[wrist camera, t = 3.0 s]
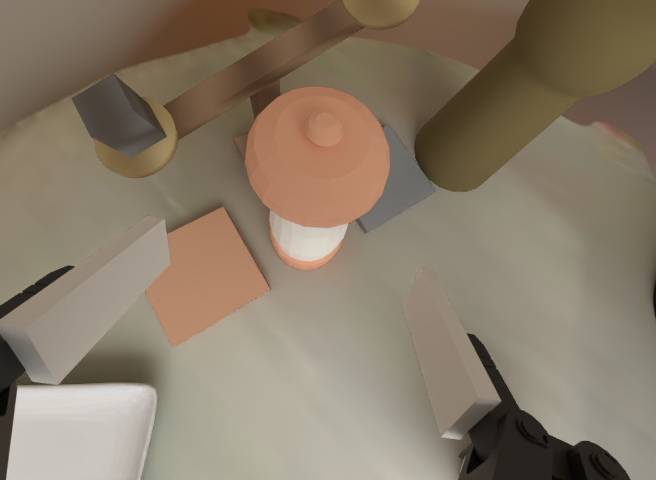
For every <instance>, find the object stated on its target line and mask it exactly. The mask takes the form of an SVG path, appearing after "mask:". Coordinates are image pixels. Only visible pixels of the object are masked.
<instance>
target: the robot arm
mask: <svg viewBox="0 0 656 480" xmlns="http://www.w3.org/2000/svg"><path fill="white" fill-rule="evenodd" d="M169 264H170V255H169V247H168V240H167V232H166V225H165V218H159V217H154V216H149V215H148V216H147V217H145V218H144V219H143V220H141V221H140V222H138V223H137V224H135V225H134V226H133V227H131V228H130V229H128V230H127V231H125V232H124V233H123V234H121V235H120V236H118V237H117V238H115V239H114V240H113V241H111V242H110V243H108V244H107V245H106V246H104V247H103V248H101V249H100V250H98V251H97V252H96V253H94V254H93V255H91V256H90V257H88V258H87V259H86V260H84V261H83V262H81V263H80V264H78V265H77V266H76V267H74V266H69V265H68V266H66V267H63V268H61V269H58V270H56V271H53V272H51V273H49V274H48V275H46V276H45V277H43V278H42V279H40V280H39V281H37V282H36V283H35V285H31V286H29V287H28V288H26V289H25V290H23V292H22V293H19V294H17V295H16V296H14V297H13V298H11V299H10V300H8V301H7V302H5V303H4V304H2V305H1V306H0V480H6V476H7V468H8V460H9V452H10V444H11V436H12V428H13V420H14V412H15V404H16V396H17V384H16V381H15V380H16V379H17V378H18V377H19V376H20V375H21V374H23V373H24V372H26V373H27V374H28V376H29V377H30V379H31V380H32V382H39V383H46V384H53V385H58V384H59V383H60V382H61V381H62V380H63V379H64V378H65V377H66V376H67V375H68V374H69V373H70V371H71V370H72V369H73V368H74V367H75V366H76V365H77V364H78V363H79V362H80V361H81V360H82V358H83V357H84V356H85V355H86V354H87V353H88V352H89V351H90V350H91V349H92V348H93V347H94V345H95V344H96V343H97V342H98V341H99V340H100V339H101V338H102V337H103V336H104V335H105V334H106V332H107V331H108V330H109V329H110V328H111V327H112V326H113V325H114V324H115V323H116V322H117V321H118V319H119V318H120V317H121V316H122V315H123V314H124V313H125V312H126V311H127V310H128V309H129V308H130V306H131V305H132V304H133V303H134V302H135V301H136V300H137V299H138V298H139V297H140V296H141V295H142V293H143V292H144V291H145V290H146V289H147V288H148V287H149V286H150V285H151V284H152V283H153V282H154V281H155V279H156V278H157V277H158V276H159V275H160V274H161V273H162V272H163V271H164V270H165V269H166V268H167V266H168V265H169ZM655 303H656V293H655ZM402 307H403V311H404V314H405V318H406V321H407V324H408V328H409V331H410V335H411V338H412V341H413V345H414V348H415V352H416V355H417V358H418V362H419V365H420V369H421V372H422V375H423V379H424V382H425V386H426V389H427V392H428V396H429V399H430V403H431V406H432V409H433V413H434V416H435V420H436V423H437V426H438V430H439V433H440V437H443V438H451V439H458V440H461V439H462V438H463V437H464V436H465V435H466V434H467V433H468V432H469V435H470V437H471V440H472V444H470V445H469V446H468V447H467V448H466V449H465V450H464V451H463V452H461V454H460V455H459V458H460V459H462V458H464V457H465V456H466V457H465V460H464V463H463V466H462V469H461V472H460V476H459V479H458V480H630V478H629V476H628V475H627V473H626V471H625V470H624V469H623V467H622V466H621V465H620V464H619V463H618V461H617V460H616V459H615V458H614V457H612V456H611V455H610V454H609V453H608V452H607V451H606V450H604V449H603V448H601V447H600V446H598V445H597V444H595V443H592V442H590V441H581V442H579V443H578V444H576V445H574V446H572V445H570V444H568V443H566V442H564V441H561V440H559V439H557V438H555V437H553V436H551V435H549V434H548V433H547V431H546V430H545V429H544V427H543V426H542V425H541V424H540V423H539V422H538V421H537V420H536V419H535V418H534V417H533V416H532V415H530V414H528V413H527V412H525V411H523V410H520V408H519V407H518V405H517V403H516V401H515V400H514V398H513V396H512V394H511V392H510V391H509V389H508V387H507V385H506V384H505V382H504V380H503V378H502V376H501V375H500V373H499V371H498V370H497V369H496V366H495V364H494V362H493V360H491V357H490V355H489V353H488V352H487V350H486V348H485V346H484V345H483V344H482V343H481V342H480V341H479V340H478V338H477V337H476V336H475V335H473V334H467V333H466V332H465V330H464V328H463V326H462V324H461V322H460V320H459V318H458V316H457V314H456V312H455V311H454V309H453V307H452V305H451V303H450V301H449V299H448V297H447V295H446V293H445V291H444V289H443V287H442V285H441V284H440V282H439V280H438V278H437V276H436V274H435V272H434V270H430V269H425V268H420V269H419V271H418V273H417V275H416V277H415V279H414V281H413V283H412V285H411V287H410V289H409V291H408V293H407V295H406V297H405V299H404V301H403V303H402Z"/></svg>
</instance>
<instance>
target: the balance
mask: <svg viewBox="0 0 656 480" xmlns="http://www.w3.org/2000/svg"><path fill="white" fill-rule="evenodd" d="M419 1H420V0H338V1H336V2H335V3H333V4H331V5H330V6H328V7H327V8H325V9H323V10H322V11H320V12H318V13H317V14H315V15H313V16H312V17H310V18H308V19H307V20H305V21H303V22H302V23H300V24H298V25H297V26H295V27H293V28H292V29H290V30H288V31H287V32H285V33H283V34H282V35H280V36H278V37H277V38H275V39H273V40H272V41H270V42H268V43H267V44H265V45H264V46H262V47H260V48H259V49H257V50H255V51H254V52H252V53H250V54H249V55H247V56H245V57H244V58H242V59H240V60H239V61H237V62H235V63H234V64H232V65H230V66H229V67H227V68H225V69H224V70H222V71H220V72H219V73H217V74H215V75H214V76H212V77H210V78H209V79H207V80H206V81H204V82H202V83H201V84H199V85H197V86H196V87H194V88H192V89H191V90H189V91H187V92H186V93H184V94H182V95H181V96H179V97H177V98H176V99H174V100H172V101H171V102H169V103H167V104H166V105H164V106H162V105H161V104H160V103H158V102H156V101H154V100H152V99H149V98H144V97H140V96H139V95H138V94H137V93H135V92H134V91H133V90H132V89H131V88H130V87H128V86H127V85H126V84H125V83H124V82H123V81H121V80H120V79H119V78H118V77H117V76H116V75H114V74H112V75H110V76H108V77H107V78H105V79H103V80H102V81H100V82H98V83H97V84H95V85H93V86H92V87H90V88H88V89H87V90H85V91H83V92H82V93H80V94H78V95H77V96H75V97H73V98H72V101H73V102H74V104H75V106H76V108H77V110H78V112H79V114H80V116H81V118H82V120H83V122H84V124H85V126H86V128H87V130H88V132H89V134H90V136H91V137H92V138H94V145H95V150H96V153H97V156H98V158H99V159H100V161H101V162H102V163H103V165H104V166H106V167H107V168H108V169H109V170H111V171H113V172H115V173H117V174H120V175H122V176H125V177H129V178H143V177H147V176H150V175H152V174H154V173H156V172H158V171H159V170H161V169H162V168H163V167H164V166H166V165H167V163H168V162H169V161H170V160H171V158H172V157H173V155H174V153H175V151H176V148H177V145H178V140H179V139H181V138H183V137H184V136H186V135H188V134H189V133H191V132H193V131H194V130H196V129H197V128H199V127H201V126H202V125H204V124H206V123H207V122H209V121H211V120H212V119H214V118H216V117H217V116H219V115H221V114H222V113H224V112H226V111H227V110H229V109H230V108H232V107H234V106H235V105H237V104H239V103H240V102H242V101H244V100H245V99H247V98H249V97H250V99H251V104H252V108H253V113H254V117H255V120H256V118H257V116H258V115H259V114H260V113H261V112H262V111H263V110H264V109H265V108H266V107H267V106H268V105H269V104H270V103H271V102H272V101H274V100H275V99H276V98H277V97H279V96H280V83H279V79H280V78H282V77H283V76H285V75H287V74H288V73H290V72H292V71H293V70H295V69H297V68H298V67H300V66H301V65H303V64H305V63H306V62H308V61H310V60H311V59H313V58H315V57H316V56H318V55H320V54H321V53H323V52H325V51H326V50H328V49H330V48H331V47H333V46H334V45H336V44H338V43H339V42H341V41H343V40H344V39H346V38H348V37H349V36H351V35H353V34H354V33H356V32H358V31H359V30H361V29H362V28H364V27H365V28H369V29H375V30H384V29H389V28H393V27H396V26H398V25H400V24H402V23H404V22H405V21H407V20H408V19H409V18H410V17H411V16H412V15H413V14H414V12H415V11H416V9H417V7H418V5H419ZM248 133H249V132H247V133H245V134H243V135H241V136H238V137H236V138H234V139H233V140H234V143H235V145H236V147H237V149H238V150H239V152H240V154H241V155H242V157H243V159H244V160H245V156H246V147H247V139H248Z"/></svg>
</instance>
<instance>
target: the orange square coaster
mask: <svg viewBox="0 0 656 480" xmlns="http://www.w3.org/2000/svg"><path fill="white" fill-rule="evenodd" d="M167 240H168V247H169V255H170V264H169V265H168V266H167V268H166V269H165V270H164V271H163V272H162V273H161V274H160V275H159V276H158V277H157V278H156V279H155V281H154V282H153V283H152V284H151V285H150V286H149V287H148V288H147V289H146V290H145V293H146V295H147V297H148V299H149V301H150V303H151V305H152V307H153V309H154V311H155V313H156V315H157V317H158V319H159V321H160V323H161V325H162V327H163V329H164V331H165V333H166V335H167V337H168V340H169V342H170V344H171V346H172V347H174V346H177V345H179V344H180V343H182V342H184V341H185V340H187V339H189V338H191V337H192V336H194V335H196V334H197V333H199V332H201V331H202V330H204V329H206V328H207V327H209V326H211V325H212V324H214V323H216V322H217V321H219V320H221V319H222V318H224V317H226V316H227V315H229V314H231V313H233V312H234V311H236V310H238V309H239V308H241V307H243V306H244V305H246V304H248V303H249V302H251V301H253V300H254V299H256V298H258V297H259V296H261V295H263V294H264V293H266V292H268V291H269V290H271V289H270V287H269V285H268V283H267V282H266V280H265V278H264V276H263V275H262V273H261V271H260V269H259V268H258V266H257V264H256V262H255V261H254V259H253V257H252V255H251V254H250V252H249V250H248V248H247V247H246V245H245V243H244V241H243V239H242V238H241V236H240V234H239V232H238V231H237V229H236V227H235V225H234V224H233V222H232V220H231V218H230V217H229V215H228V213H227V211H226V210H225V208H224V207H221V208H219V209H217V210H215V211H213V212H211V213H209V214H207V215H205V216H203V217H201V218H199V219H197V220H195V221H193V222H191V223H189V224H187V225H185V226H183V227H180V228H178V229H176V230H174V231H172V232H170V233H168V234H167Z"/></svg>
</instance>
